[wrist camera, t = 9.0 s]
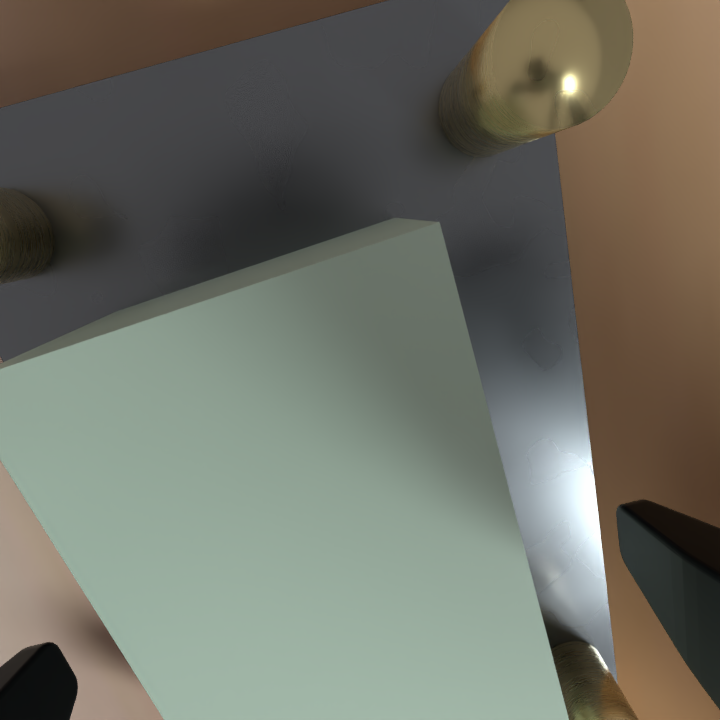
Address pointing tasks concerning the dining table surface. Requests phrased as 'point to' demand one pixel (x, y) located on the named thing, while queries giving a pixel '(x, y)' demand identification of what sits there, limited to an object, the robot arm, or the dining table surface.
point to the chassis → (353, 220)
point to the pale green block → (290, 492)
